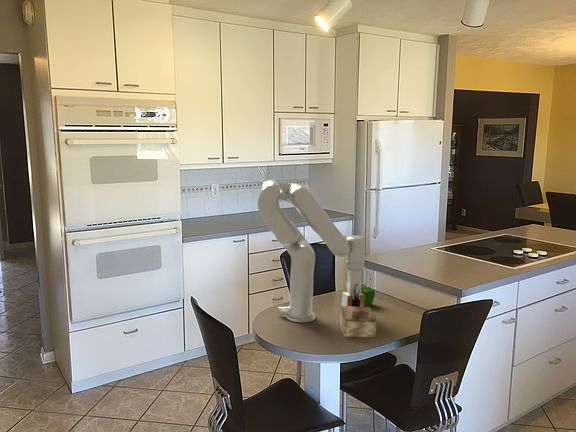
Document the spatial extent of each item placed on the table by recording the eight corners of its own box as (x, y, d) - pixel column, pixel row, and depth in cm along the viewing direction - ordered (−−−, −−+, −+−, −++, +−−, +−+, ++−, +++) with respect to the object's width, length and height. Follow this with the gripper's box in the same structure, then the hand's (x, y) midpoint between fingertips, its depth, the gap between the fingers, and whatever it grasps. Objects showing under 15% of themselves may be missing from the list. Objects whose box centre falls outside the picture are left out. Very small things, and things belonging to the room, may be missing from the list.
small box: (346, 320, 201) (347, 295, 199) (340, 315, 206) (342, 291, 205) (363, 318, 203) (364, 294, 202) (358, 314, 209) (359, 290, 207)
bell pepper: (377, 307, 218) (378, 285, 217) (361, 309, 215) (362, 287, 214) (367, 301, 226) (369, 280, 224) (352, 303, 223) (353, 282, 221)
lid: (344, 320, 183) (345, 312, 182) (340, 308, 197) (341, 300, 196) (376, 321, 183) (376, 313, 183) (369, 308, 197) (370, 301, 196)
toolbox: (344, 336, 184) (344, 321, 183) (339, 322, 198) (340, 308, 197) (375, 337, 184) (376, 322, 183) (369, 323, 198) (369, 309, 197)
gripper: (343, 260, 210) (342, 298, 212) (348, 270, 193) (347, 311, 195) (360, 260, 210) (359, 298, 213) (367, 270, 193) (366, 311, 195)
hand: (353, 304), depth 204 cm, fingers open, 9 cm apart
